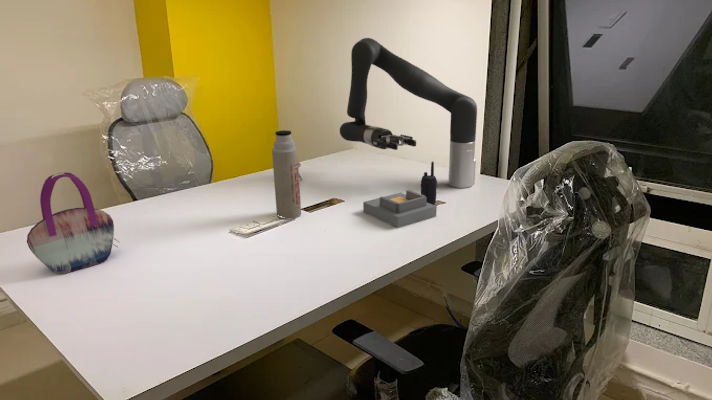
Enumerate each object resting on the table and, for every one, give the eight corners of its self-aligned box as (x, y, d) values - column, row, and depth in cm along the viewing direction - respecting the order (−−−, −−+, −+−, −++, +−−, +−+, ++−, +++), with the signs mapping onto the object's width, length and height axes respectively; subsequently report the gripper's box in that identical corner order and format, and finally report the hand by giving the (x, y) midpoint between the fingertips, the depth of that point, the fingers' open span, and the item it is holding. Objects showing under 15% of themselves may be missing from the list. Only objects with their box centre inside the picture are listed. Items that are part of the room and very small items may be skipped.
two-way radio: (435, 202, 179) (436, 160, 174) (437, 206, 174) (439, 163, 170) (419, 202, 178) (420, 160, 174) (421, 206, 174) (422, 164, 169)
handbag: (115, 245, 148) (99, 162, 140) (127, 256, 141) (111, 169, 133) (31, 269, 135) (8, 178, 127) (39, 282, 128) (15, 186, 120)
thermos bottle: (306, 213, 170) (301, 130, 161) (289, 221, 164) (283, 134, 155) (288, 209, 175) (283, 127, 166) (271, 216, 169) (265, 132, 160)
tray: (400, 201, 179) (400, 184, 177) (436, 216, 165) (436, 197, 163) (363, 211, 171) (363, 193, 169) (398, 227, 157) (398, 207, 155)
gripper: (362, 129, 187) (390, 137, 174) (392, 125, 195) (421, 132, 182) (362, 149, 189) (390, 158, 177) (392, 144, 197) (421, 152, 185)
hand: (406, 145), depth 180 cm, fingers open, 8 cm apart
